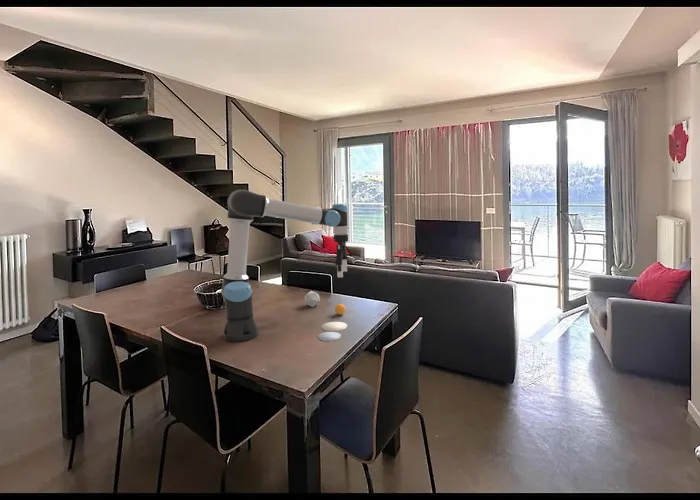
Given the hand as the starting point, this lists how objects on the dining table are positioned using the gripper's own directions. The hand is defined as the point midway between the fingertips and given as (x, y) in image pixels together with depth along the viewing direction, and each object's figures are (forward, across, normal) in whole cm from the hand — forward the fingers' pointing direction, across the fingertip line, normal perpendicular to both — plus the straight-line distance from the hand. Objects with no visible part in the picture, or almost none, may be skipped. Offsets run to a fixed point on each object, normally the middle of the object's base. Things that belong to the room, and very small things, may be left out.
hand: (342, 274), depth 201 cm
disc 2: (+19, -38, 0) cm, 42 cm away
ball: (+16, -9, 0) cm, 19 cm away
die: (+19, +5, +18) cm, 27 cm away
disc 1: (+19, -26, 0) cm, 32 cm away
